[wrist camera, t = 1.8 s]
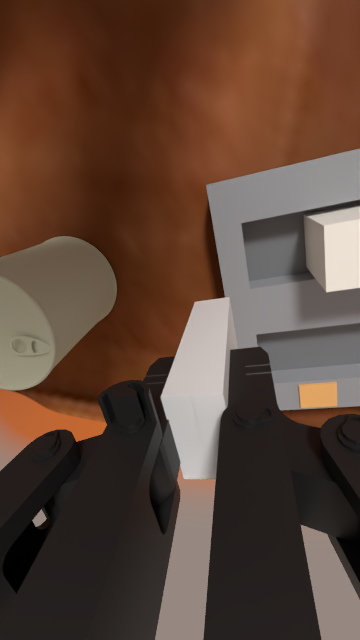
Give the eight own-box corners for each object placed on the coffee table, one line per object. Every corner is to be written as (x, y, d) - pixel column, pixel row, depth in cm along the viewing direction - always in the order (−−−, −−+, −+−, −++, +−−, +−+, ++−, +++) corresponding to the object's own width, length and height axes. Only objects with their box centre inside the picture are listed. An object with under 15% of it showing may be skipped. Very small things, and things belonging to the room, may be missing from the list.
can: (115, 332, 32) (54, 408, 21) (34, 315, 33) (-64, 380, 22) (119, 244, 28) (47, 284, 17) (26, 228, 29) (-97, 257, 18)
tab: (303, 214, 23) (323, 225, 17) (379, 199, 21) (426, 206, 16) (306, 267, 24) (326, 292, 19) (377, 255, 23) (420, 279, 18)
